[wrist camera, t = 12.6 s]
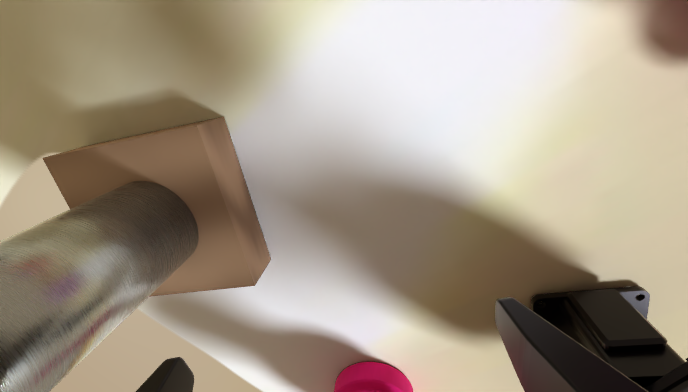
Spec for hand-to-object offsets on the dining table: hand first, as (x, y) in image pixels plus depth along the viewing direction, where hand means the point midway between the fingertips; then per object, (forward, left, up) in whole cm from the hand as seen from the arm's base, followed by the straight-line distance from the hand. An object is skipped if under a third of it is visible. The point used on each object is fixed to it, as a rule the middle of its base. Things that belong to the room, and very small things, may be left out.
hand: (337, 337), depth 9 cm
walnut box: (+1, +13, -12) cm, 17 cm away
